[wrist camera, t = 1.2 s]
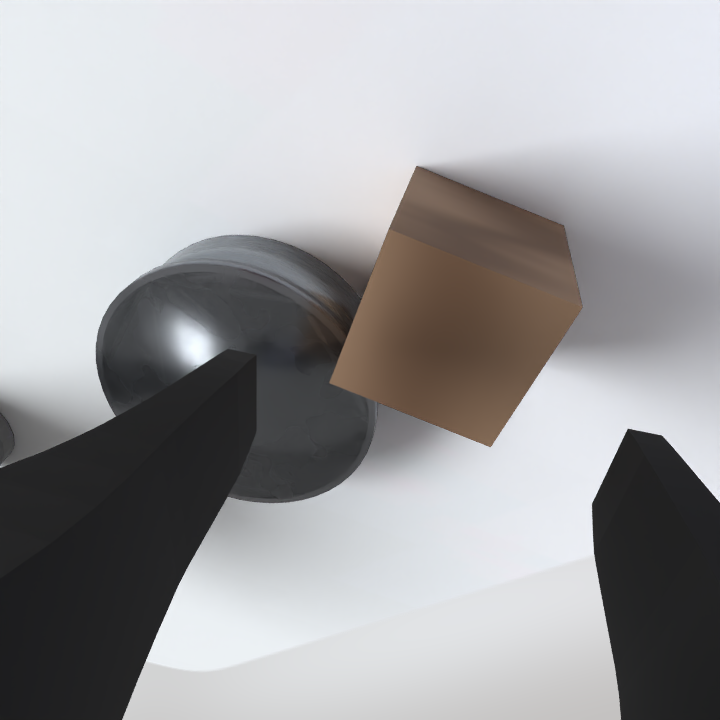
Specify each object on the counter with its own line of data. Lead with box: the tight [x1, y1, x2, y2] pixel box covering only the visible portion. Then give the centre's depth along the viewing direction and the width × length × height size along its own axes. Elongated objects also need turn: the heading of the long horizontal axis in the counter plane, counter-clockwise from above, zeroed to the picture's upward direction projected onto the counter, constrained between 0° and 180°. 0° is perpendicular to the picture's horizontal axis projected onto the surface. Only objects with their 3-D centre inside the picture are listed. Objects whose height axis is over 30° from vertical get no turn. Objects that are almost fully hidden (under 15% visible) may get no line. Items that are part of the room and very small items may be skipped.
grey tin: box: [96, 235, 378, 503], centre depth 20 cm, size 9×9×3 cm
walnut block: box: [329, 166, 583, 447], centre depth 16 cm, size 4×4×5 cm
